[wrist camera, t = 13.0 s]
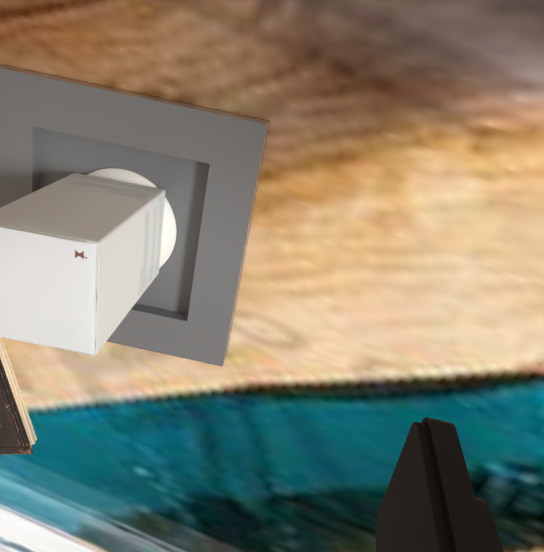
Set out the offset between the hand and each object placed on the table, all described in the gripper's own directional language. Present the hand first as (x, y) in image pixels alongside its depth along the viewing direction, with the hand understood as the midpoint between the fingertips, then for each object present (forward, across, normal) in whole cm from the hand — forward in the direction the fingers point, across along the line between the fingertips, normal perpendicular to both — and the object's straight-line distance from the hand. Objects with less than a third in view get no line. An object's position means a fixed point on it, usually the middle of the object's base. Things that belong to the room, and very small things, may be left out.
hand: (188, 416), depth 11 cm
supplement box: (+28, +13, +8) cm, 32 cm away
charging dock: (+29, +13, +8) cm, 33 cm away
